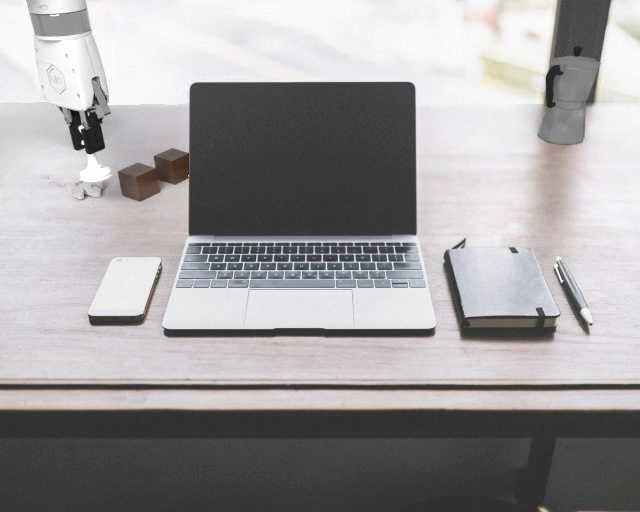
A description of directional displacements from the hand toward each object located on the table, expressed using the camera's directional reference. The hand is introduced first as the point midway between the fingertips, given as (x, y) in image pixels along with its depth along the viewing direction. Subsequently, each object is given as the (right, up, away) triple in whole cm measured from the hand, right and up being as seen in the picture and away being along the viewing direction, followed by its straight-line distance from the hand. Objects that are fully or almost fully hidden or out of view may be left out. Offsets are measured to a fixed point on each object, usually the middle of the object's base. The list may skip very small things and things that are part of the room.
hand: (89, 148), depth 95 cm
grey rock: (-7, -5, +13) cm, 16 cm away
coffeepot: (+84, +7, +31) cm, 89 cm away
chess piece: (0, -4, +2) cm, 5 cm away
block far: (+9, -2, +17) cm, 19 cm away
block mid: (+5, -6, +11) cm, 13 cm away
